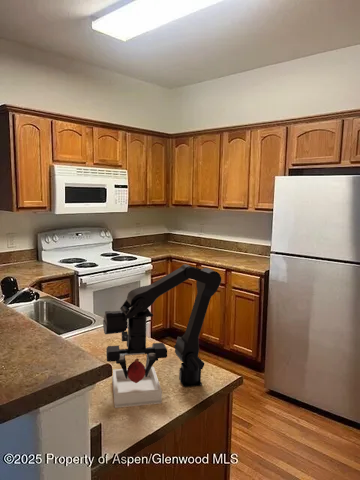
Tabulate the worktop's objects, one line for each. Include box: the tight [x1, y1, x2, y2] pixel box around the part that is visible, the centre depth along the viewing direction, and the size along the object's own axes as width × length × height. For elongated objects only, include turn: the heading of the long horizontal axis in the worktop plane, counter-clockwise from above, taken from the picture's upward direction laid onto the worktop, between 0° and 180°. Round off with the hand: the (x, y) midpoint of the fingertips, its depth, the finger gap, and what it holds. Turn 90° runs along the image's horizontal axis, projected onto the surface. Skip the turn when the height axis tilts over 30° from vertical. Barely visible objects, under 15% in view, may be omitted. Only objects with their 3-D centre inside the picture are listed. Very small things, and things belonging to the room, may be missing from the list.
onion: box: [127, 357, 146, 383], centre depth 116 cm, size 6×6×8 cm
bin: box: [111, 366, 163, 409], centre depth 116 cm, size 14×16×4 cm
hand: (136, 377), depth 116 cm, fingers closed on onion, 6 cm apart
